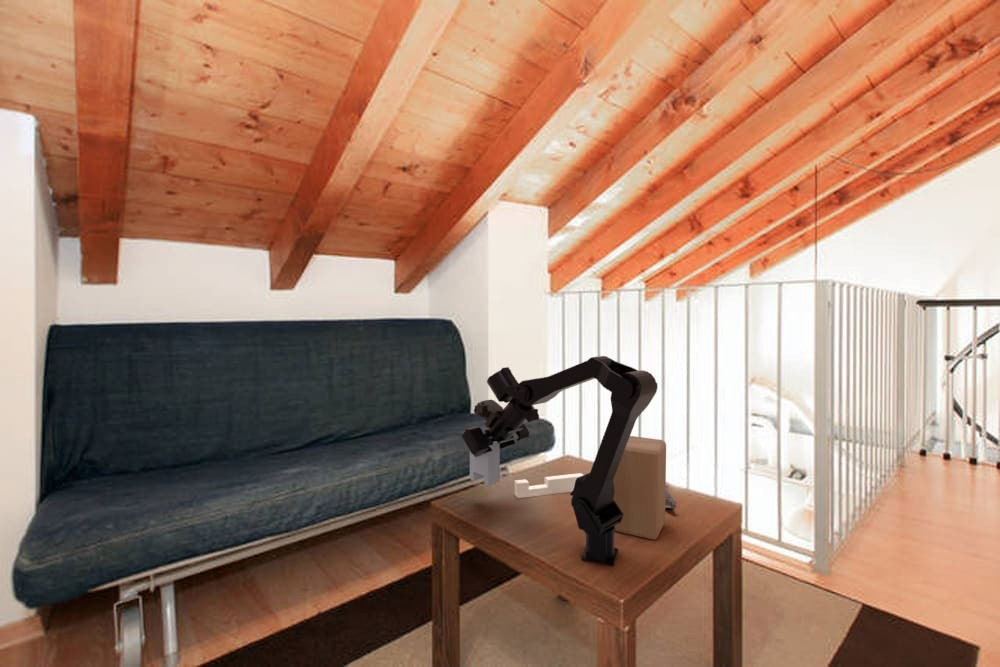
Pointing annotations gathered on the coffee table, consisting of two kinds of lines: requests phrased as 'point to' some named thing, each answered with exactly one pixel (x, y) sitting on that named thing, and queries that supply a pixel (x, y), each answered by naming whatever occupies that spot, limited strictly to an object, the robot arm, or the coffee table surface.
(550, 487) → the slotted rail
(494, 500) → the coffee table surface
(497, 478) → the slotted block
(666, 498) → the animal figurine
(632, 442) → the wooden block
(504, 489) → the coffee table surface
